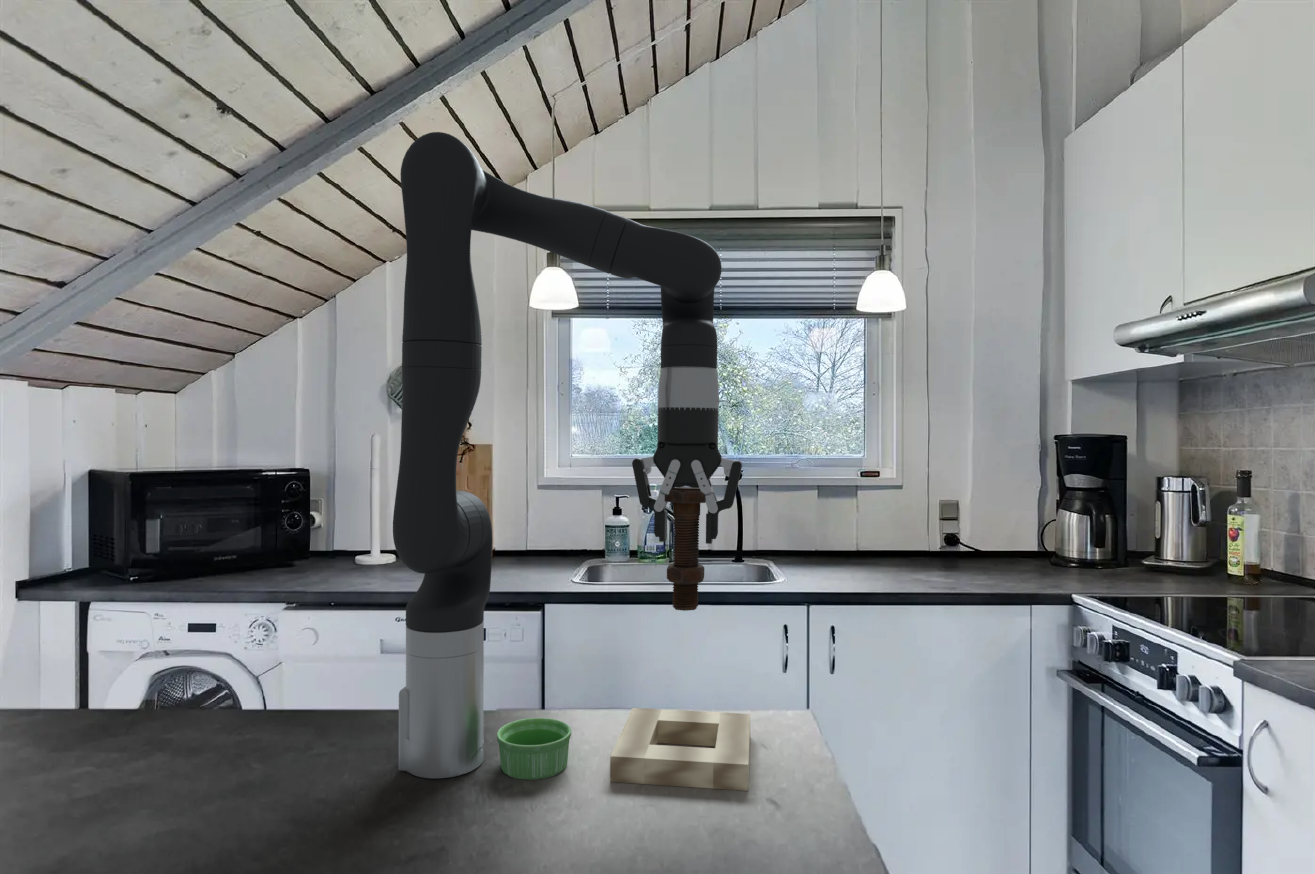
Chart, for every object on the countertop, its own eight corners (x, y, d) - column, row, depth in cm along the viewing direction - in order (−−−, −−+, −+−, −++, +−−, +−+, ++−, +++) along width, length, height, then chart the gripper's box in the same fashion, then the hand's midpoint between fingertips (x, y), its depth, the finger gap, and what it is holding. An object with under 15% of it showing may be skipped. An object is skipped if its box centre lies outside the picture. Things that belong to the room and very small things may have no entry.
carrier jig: (610, 781, 92) (610, 755, 92) (632, 729, 108) (632, 707, 108) (748, 790, 90) (748, 764, 90) (750, 736, 106) (750, 713, 106)
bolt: (701, 615, 95) (703, 491, 95) (660, 612, 96) (662, 490, 96) (708, 604, 101) (710, 487, 101) (669, 602, 102) (671, 486, 102)
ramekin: (492, 756, 99) (492, 721, 99) (563, 747, 102) (563, 713, 102) (501, 787, 91) (501, 749, 91) (578, 777, 94) (578, 740, 94)
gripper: (625, 404, 95) (623, 544, 96) (745, 405, 93) (743, 548, 94) (636, 405, 103) (634, 535, 103) (747, 406, 101) (745, 539, 101)
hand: (686, 541), depth 98 cm, fingers closed on bolt, 5 cm apart
